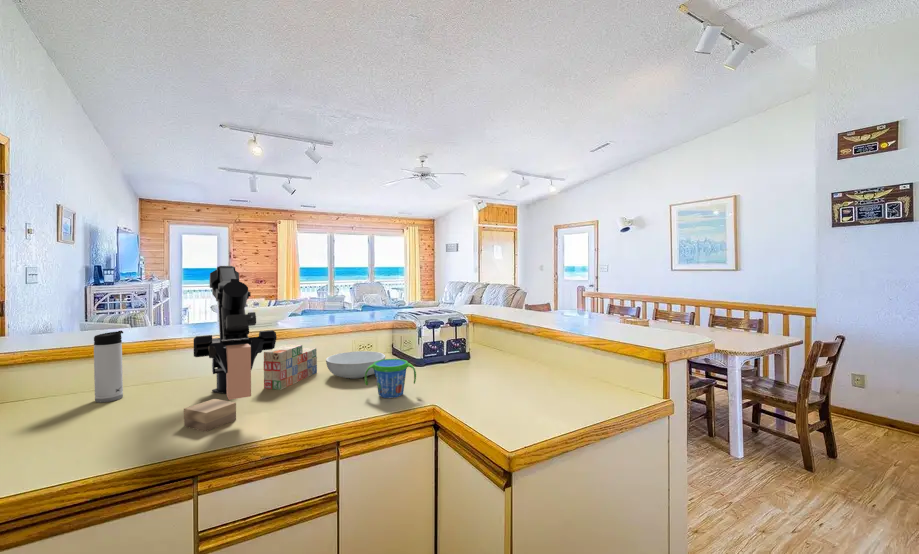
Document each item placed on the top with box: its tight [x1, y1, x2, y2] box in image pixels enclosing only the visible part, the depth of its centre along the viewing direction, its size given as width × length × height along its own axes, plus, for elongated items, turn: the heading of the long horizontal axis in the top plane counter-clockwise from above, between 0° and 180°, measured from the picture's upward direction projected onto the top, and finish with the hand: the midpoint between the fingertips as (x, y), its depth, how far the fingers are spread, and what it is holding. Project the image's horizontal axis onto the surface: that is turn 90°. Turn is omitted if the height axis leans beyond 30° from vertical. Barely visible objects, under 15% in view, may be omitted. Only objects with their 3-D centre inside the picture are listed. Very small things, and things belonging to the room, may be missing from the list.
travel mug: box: [93, 330, 124, 403], centre depth 118 cm, size 6×7×20 cm
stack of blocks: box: [263, 343, 318, 391], centre depth 139 cm, size 21×6×12 cm, turn 169°
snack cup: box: [364, 358, 417, 399], centre depth 123 cm, size 16×10×10 cm
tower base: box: [183, 411, 237, 432], centre depth 101 cm, size 8×8×2 cm
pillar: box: [226, 344, 252, 401], centre depth 101 cm, size 5×5×12 cm
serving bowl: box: [325, 350, 386, 380], centre depth 145 cm, size 21×21×7 cm
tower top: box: [183, 398, 237, 423], centre depth 101 cm, size 8×8×2 cm
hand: (239, 370), depth 100 cm, fingers closed on pillar, 5 cm apart
